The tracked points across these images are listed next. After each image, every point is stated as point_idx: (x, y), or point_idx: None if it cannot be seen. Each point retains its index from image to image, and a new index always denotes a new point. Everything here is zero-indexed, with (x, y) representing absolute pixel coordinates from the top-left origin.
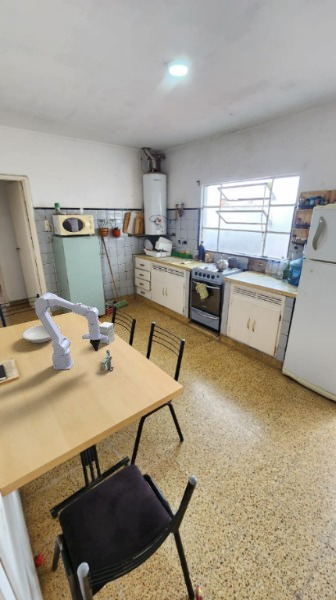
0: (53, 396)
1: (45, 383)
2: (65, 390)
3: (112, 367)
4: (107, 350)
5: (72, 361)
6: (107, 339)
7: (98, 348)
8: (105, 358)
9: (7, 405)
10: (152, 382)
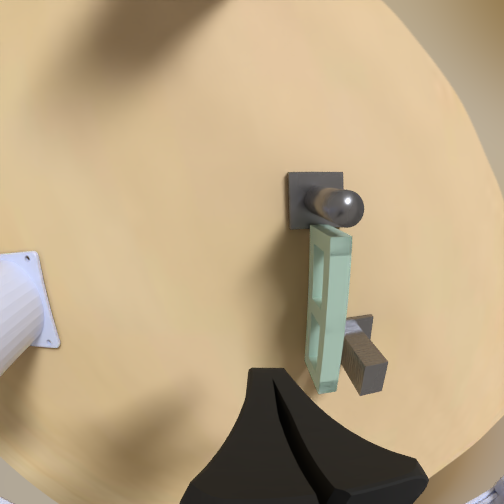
0: (127, 489)
1: (38, 428)
2: (151, 475)
3: (366, 327)
4: (341, 198)
5: (29, 265)
6: (501, 494)
7: (289, 376)
8: (336, 332)
9: (30, 480)
10: (498, 382)
